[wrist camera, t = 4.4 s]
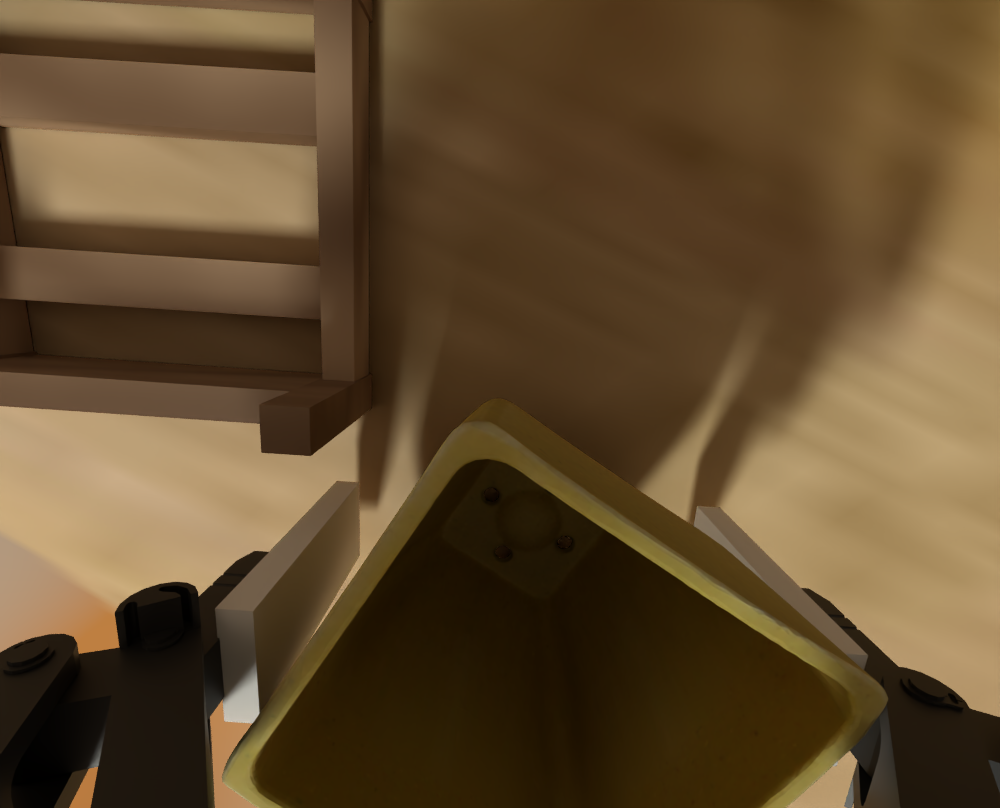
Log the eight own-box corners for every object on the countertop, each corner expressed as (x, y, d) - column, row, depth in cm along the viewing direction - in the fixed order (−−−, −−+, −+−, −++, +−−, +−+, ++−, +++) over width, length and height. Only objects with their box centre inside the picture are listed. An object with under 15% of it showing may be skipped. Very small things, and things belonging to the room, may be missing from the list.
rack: (-70, -53, 13) (-408, -258, 8) (372, -27, 13) (290, -219, 8) (8, 383, 16) (-210, 419, 11) (371, 408, 16) (310, 456, 11)
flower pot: (360, 540, 17) (202, 794, 8) (491, 347, 15) (466, 410, 7) (552, 657, 18) (591, 993, 9) (695, 486, 16) (909, 703, 8)
